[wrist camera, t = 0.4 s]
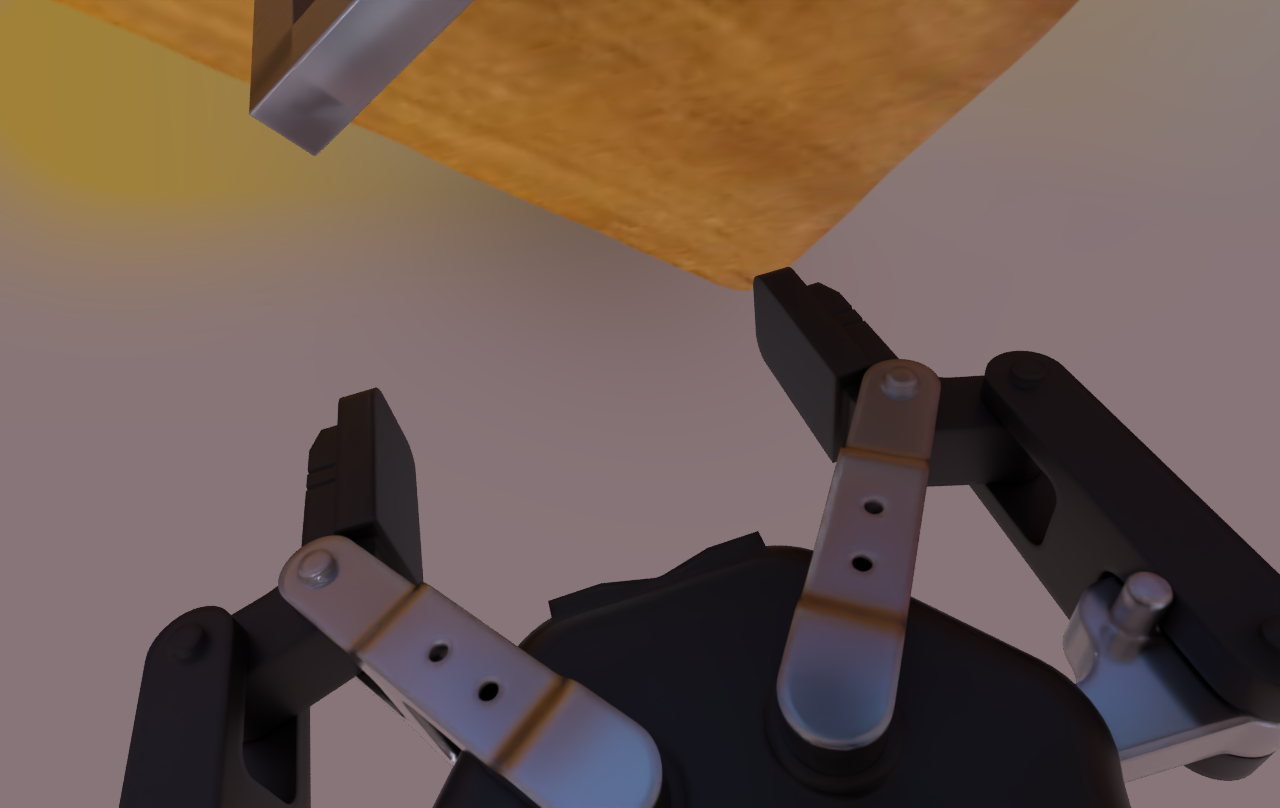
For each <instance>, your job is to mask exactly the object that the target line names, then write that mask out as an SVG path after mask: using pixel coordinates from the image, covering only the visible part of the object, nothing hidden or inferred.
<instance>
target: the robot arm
mask: <svg viewBox="0 0 1280 808" xmlns="http://www.w3.org/2000/svg"><path fill="white" fill-rule="evenodd" d="M753 290H754V307H755V323H756V337H757V342H758V346H759V349H760V352H761V355H762V357H763V359H764V361H765V362H766V364H767V365H768V367H769V369H770V370H771V372H772V373H773V374H774V376H775V377H776V379H777V380H778V382H779V383H780V385H781V386H782V388H783V389H784V391H785V392H786V394H787V395H788V397H789V398H790V400H791V401H792V403H793V404H794V406H795V407H796V409H797V410H798V412H799V413H800V415H801V416H802V418H803V419H804V421H805V422H806V424H807V425H808V427H809V428H810V430H811V431H812V433H813V434H814V436H815V437H816V439H817V440H818V442H819V443H820V444H821V446H822V448H823V449H824V451H825V452H826V454H827V455H828V457H829V458H830V459H831V461H832V462H833V463H834V462H837V463H836V467H835V470H834V475H833V478H832V482H831V486H830V490H829V494H828V497H827V502H826V505H825V509H824V513H823V517H822V520H821V524H820V528H819V532H818V536H817V540H816V543H815V547H814V551H813V550H809V549H805V548H800V547H793V546H765V544H764V542H763V540H762V538H761V536H760V534H759V532H758V531H757V532H755V533H751V534H748V535H745V536H742V537H739V538H736V539H733V540H730V541H727V542H724V543H721V544H718V545H715V546H712V547H709V548H707V549H705V550H704V551H702V552H700V553H699V554H697V555H695V556H694V557H692V558H690V559H689V560H687V561H686V562H684V563H682V564H681V565H679V566H677V567H676V568H674V569H672V570H671V571H669V572H667V573H666V574H664V575H662V576H660V577H657V578H651V579H641V580H630V581H621V582H610V583H601V584H598V585H595V586H592V587H589V588H586V589H583V590H580V591H577V592H574V593H571V594H568V595H565V596H562V597H559V598H556V599H553V600H550V601H548V602H549V607H550V612H551V616H552V618H550V619H549V620H547V621H545V622H544V623H542V624H541V625H540V626H539V627H537V628H536V629H535V630H533V631H532V632H531V633H530V634H529V635H528V636H527V637H526V638H525V639H524V640H523V641H522V642H521V643H520V644H519V646H516V645H515V644H513V643H512V642H510V641H509V640H508V639H506V638H505V637H503V636H502V635H500V634H499V633H498V632H496V631H494V630H493V629H492V628H490V627H489V626H488V625H486V624H485V623H483V622H482V621H480V620H479V619H478V618H476V617H475V616H473V615H472V614H470V613H469V612H468V611H466V610H464V609H463V608H462V607H460V606H459V605H457V604H456V603H455V602H453V601H452V600H450V599H449V598H448V597H446V596H445V595H443V594H442V593H440V592H439V591H438V590H436V589H435V588H433V587H432V586H430V585H428V584H426V583H424V582H423V569H422V556H421V541H420V527H419V513H418V499H417V486H416V472H415V463H414V459H413V455H412V452H411V449H410V446H409V444H408V441H407V440H406V437H405V435H404V434H403V432H402V430H401V428H400V426H399V424H398V423H397V420H396V418H395V416H394V415H393V413H392V411H391V409H390V407H389V405H388V403H387V401H386V400H385V398H384V396H383V394H382V393H381V391H380V390H379V389H378V388H373V389H369V390H366V391H363V392H359V393H356V394H353V395H349V396H346V397H342V398H340V399H339V403H338V424H337V425H336V426H333V427H330V428H326V429H323V430H321V431H320V433H319V435H318V437H317V438H316V440H315V442H314V444H313V445H312V448H311V449H310V451H309V461H308V473H309V474H308V475H307V485H306V487H307V491H306V498H305V510H304V522H303V534H302V547H301V548H300V549H299V550H298V551H296V552H295V553H294V554H293V555H292V556H291V557H290V558H289V560H288V561H287V562H286V563H285V565H284V567H283V568H282V571H281V573H280V576H279V580H278V586H277V587H276V588H274V589H273V590H272V591H270V592H269V593H267V594H266V595H264V596H263V597H261V598H259V599H258V600H256V601H254V602H253V603H251V604H249V605H248V606H246V607H244V608H243V609H241V610H239V611H237V612H236V613H234V614H233V615H230V614H229V613H228V612H227V611H226V610H225V609H223V608H220V607H217V606H205V607H200V608H196V609H193V610H191V611H189V612H186V613H185V614H183V615H181V616H179V617H178V618H177V619H175V620H174V621H172V622H171V623H170V624H169V625H168V626H166V627H165V628H164V629H163V630H162V631H161V632H160V633H159V635H158V636H157V637H156V639H155V640H154V642H153V643H152V645H151V646H150V648H149V651H148V653H147V656H146V660H145V665H144V671H143V677H142V682H141V688H140V693H139V698H138V704H137V710H136V715H135V721H134V727H133V732H132V738H131V743H130V749H129V755H128V760H127V765H126V771H125V776H124V782H123V788H122V793H121V799H120V804H119V808H311V805H310V803H311V800H310V799H311V797H310V706H311V705H313V704H314V703H316V702H317V701H319V700H320V699H322V698H323V697H325V696H326V695H328V694H329V693H331V692H332V691H334V690H336V689H337V688H338V687H340V686H342V685H343V684H344V683H346V682H348V681H349V680H351V679H352V678H355V679H356V680H357V681H359V682H360V683H361V684H362V685H363V686H364V687H366V688H367V689H368V690H369V691H370V692H371V693H372V694H373V695H375V696H376V697H377V698H378V699H379V700H380V701H382V702H383V703H384V704H385V705H386V706H387V707H388V708H389V709H391V710H392V711H393V712H394V713H395V714H396V715H398V716H399V717H400V718H401V719H402V720H403V721H404V722H406V723H407V724H408V725H409V726H410V727H411V728H412V729H413V730H415V731H416V732H417V733H418V734H419V735H420V736H421V737H422V738H423V739H424V740H425V741H426V742H427V743H428V744H429V745H430V746H431V747H432V748H433V749H434V750H435V751H436V752H437V753H438V754H439V755H440V756H441V757H442V758H443V759H444V760H445V761H446V762H447V763H449V764H450V765H451V766H452V767H453V768H452V770H451V772H450V774H449V776H448V778H447V780H446V782H445V784H444V786H443V788H442V790H441V792H440V794H439V796H438V798H437V800H436V802H435V804H434V806H433V808H1131V806H1130V802H1129V799H1128V795H1127V792H1126V788H1125V784H1124V783H1126V782H1130V781H1133V780H1136V779H1139V778H1143V777H1146V776H1149V775H1153V774H1156V773H1159V772H1163V771H1166V770H1169V769H1172V768H1176V767H1179V766H1182V765H1184V766H1185V767H1187V768H1189V769H1190V770H1192V771H1194V772H1196V773H1198V774H1200V775H1202V776H1206V777H1209V778H1212V779H1217V780H1224V781H1232V780H1239V779H1242V778H1245V777H1247V776H1249V775H1250V774H1252V773H1253V772H1254V771H1255V770H1256V769H1257V768H1258V767H1259V766H1260V765H1261V764H1262V763H1264V762H1265V761H1266V760H1267V759H1268V758H1269V757H1270V756H1271V755H1272V754H1273V753H1274V752H1275V751H1276V750H1277V749H1278V748H1280V574H1279V573H1278V572H1276V570H1275V569H1273V568H1272V567H1271V566H1270V565H1269V564H1268V563H1267V562H1266V561H1265V560H1264V559H1263V558H1262V557H1261V556H1260V555H1259V554H1258V553H1257V552H1256V551H1255V550H1254V549H1253V548H1252V547H1251V546H1249V545H1248V544H1247V543H1246V542H1245V541H1244V540H1243V539H1242V538H1241V537H1240V536H1239V535H1238V534H1237V533H1236V532H1235V531H1234V530H1233V529H1232V528H1231V527H1230V526H1229V525H1228V524H1227V523H1226V522H1224V520H1223V519H1221V518H1220V517H1219V516H1218V515H1217V514H1216V513H1215V512H1214V511H1213V510H1212V509H1211V508H1210V507H1209V506H1208V505H1207V504H1206V503H1205V502H1204V501H1203V500H1202V499H1201V498H1200V497H1199V496H1198V495H1197V494H1195V493H1194V492H1193V491H1192V490H1191V489H1190V488H1189V487H1188V486H1187V485H1186V484H1185V483H1184V482H1183V481H1182V480H1181V479H1180V478H1179V477H1178V476H1177V475H1176V474H1175V473H1174V472H1173V471H1172V470H1170V468H1169V467H1167V466H1166V465H1165V464H1164V463H1163V462H1162V461H1161V460H1160V459H1159V458H1158V457H1157V456H1156V455H1155V454H1154V453H1153V452H1152V451H1151V450H1150V449H1149V448H1148V447H1147V446H1146V445H1145V444H1144V443H1143V442H1141V441H1140V440H1139V439H1138V438H1137V437H1136V436H1135V435H1134V434H1133V433H1132V432H1131V431H1130V430H1129V429H1128V428H1127V427H1126V426H1125V425H1124V424H1123V423H1122V422H1121V421H1120V420H1119V419H1117V417H1116V416H1114V415H1113V414H1112V413H1111V412H1110V411H1109V410H1108V409H1107V408H1106V407H1105V406H1104V405H1103V404H1102V403H1101V402H1100V401H1099V400H1098V399H1097V398H1096V397H1095V396H1094V395H1093V394H1091V392H1090V391H1088V390H1087V389H1086V388H1085V387H1084V386H1083V385H1082V384H1081V383H1080V382H1079V381H1078V380H1077V379H1076V378H1075V377H1074V376H1073V375H1072V374H1071V373H1070V372H1069V371H1068V370H1067V369H1065V367H1064V366H1062V365H1061V364H1060V363H1059V362H1057V361H1056V360H1054V359H1052V358H1050V357H1048V356H1046V355H1043V354H1040V353H1035V352H1029V351H1012V352H1006V353H1003V354H1000V355H998V356H996V357H994V358H993V359H992V360H991V361H990V362H989V363H988V365H987V367H986V370H985V375H984V376H971V377H970V376H969V377H953V378H943V377H938V376H937V374H936V373H935V372H934V371H932V369H930V368H929V367H927V366H925V365H923V364H921V363H919V362H915V361H911V360H905V359H899V358H898V357H897V356H896V355H895V354H894V353H893V352H892V351H891V350H890V349H889V347H888V346H887V345H886V344H885V343H884V342H883V341H882V339H881V338H880V337H879V336H878V335H877V334H876V333H875V332H874V331H873V330H872V328H871V327H870V326H869V325H868V324H867V323H866V322H865V321H863V320H862V317H861V316H860V315H859V314H858V313H857V312H856V311H855V310H853V309H852V306H851V305H850V304H849V303H848V302H847V301H846V299H845V298H844V297H843V296H842V295H841V294H840V293H839V292H837V291H835V290H833V289H831V288H829V287H827V286H825V285H823V284H821V283H819V282H818V283H814V284H811V285H808V286H807V285H806V284H805V283H804V282H803V281H802V280H801V279H800V277H799V276H798V275H797V274H796V273H795V271H794V270H793V269H792V268H790V267H786V268H782V269H779V270H775V271H772V272H769V273H765V274H762V275H758V276H756V277H755V278H754V282H753ZM952 485H970V487H971V488H972V489H973V491H974V492H975V493H976V495H977V496H978V497H979V499H980V500H981V501H982V503H983V504H984V506H985V507H986V508H987V510H988V511H989V512H990V514H991V515H992V516H993V518H994V519H995V520H996V522H997V523H998V524H999V526H1000V527H1001V528H1002V530H1003V531H1004V532H1005V534H1006V535H1007V537H1008V538H1009V539H1010V540H1011V542H1012V543H1013V544H1014V546H1015V547H1016V549H1017V550H1018V551H1019V552H1020V554H1021V555H1022V557H1023V558H1024V559H1025V561H1026V562H1027V563H1028V565H1029V566H1030V567H1031V569H1032V570H1033V572H1034V573H1035V574H1036V576H1037V577H1038V578H1039V580H1040V581H1041V582H1042V584H1043V585H1044V586H1045V588H1046V589H1047V590H1048V592H1049V593H1050V594H1051V596H1052V597H1053V599H1054V600H1055V601H1056V603H1057V604H1058V605H1059V607H1060V608H1061V609H1062V611H1063V612H1064V613H1065V615H1066V616H1067V617H1068V619H1069V620H1070V621H1069V623H1068V625H1067V628H1066V630H1065V632H1064V635H1063V650H1064V652H1065V655H1066V658H1067V660H1068V662H1069V664H1070V666H1071V667H1072V669H1073V671H1074V675H1075V677H1076V684H1074V683H1073V682H1072V681H1071V680H1070V679H1069V678H1068V677H1066V676H1065V675H1064V674H1062V673H1061V672H1059V671H1058V670H1057V669H1055V668H1053V667H1052V666H1050V665H1048V664H1047V663H1045V662H1043V661H1042V660H1040V659H1038V658H1036V657H1034V656H1032V655H1030V654H1028V653H1025V652H1024V651H1022V650H1019V649H1017V648H1015V647H1013V646H1011V645H1009V644H1007V643H1005V642H1003V641H1001V640H999V639H997V638H995V637H993V636H991V635H989V634H987V633H985V632H983V631H981V630H978V629H976V628H974V627H972V626H970V625H968V624H966V623H964V622H962V621H960V620H958V619H956V618H954V617H952V616H950V615H948V614H946V613H944V612H941V611H939V610H938V609H936V608H933V607H931V606H929V605H927V604H925V603H923V602H921V601H919V600H917V599H915V598H913V597H911V589H912V582H913V576H914V569H915V562H916V555H917V548H918V542H919V535H920V528H921V522H922V515H923V508H924V502H925V495H926V488H927V487H928V486H952Z"/></svg>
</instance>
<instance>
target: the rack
mask: <svg viewBox="0 0 1280 808" xmlns="http://www.w3.org/2000/svg"><path fill="white" fill-rule="evenodd" d="M472 1H473V0H255V2H254V23H253V44H252V65H251V86H250V107H249V114H250V115H251V116H252V117H254V118H255V119H257V120H259V121H260V122H262V123H264V124H265V125H266V126H268V127H270V128H271V129H273V130H274V131H276V132H278V133H279V134H281V135H282V136H284V137H285V138H287V139H288V140H290V141H291V142H293V143H295V144H296V145H298V146H299V147H301V148H302V149H304V150H306V151H307V152H309V153H310V154H312V155H314V156H316V155H317V154H318V153H319V152H320V151H321V150H322V149H323V148H324V147H325V146H326V145H328V144H329V142H331V141H332V140H333V139H334V138H335V137H336V136H337V135H338V134H339V133H340V132H341V131H342V130H343V129H344V128H345V127H346V126H347V125H348V124H349V123H350V122H351V121H352V120H353V119H354V118H355V117H356V116H357V115H358V114H359V113H360V112H361V111H362V110H363V109H364V108H365V107H366V106H367V105H368V104H369V103H370V102H371V101H372V100H373V99H374V98H375V97H376V96H377V95H378V94H379V93H380V92H381V91H382V90H383V89H384V88H385V87H386V86H387V85H388V84H389V83H390V82H391V81H392V80H393V79H394V78H395V77H396V76H397V75H398V74H399V73H400V72H401V71H402V70H403V69H404V68H405V67H406V66H407V65H408V64H409V63H410V62H411V61H412V60H413V59H414V58H415V57H416V56H417V55H418V54H420V53H421V52H422V51H423V50H424V49H425V48H426V47H427V46H428V45H429V44H430V43H431V42H432V41H433V40H434V39H435V38H436V37H437V36H438V35H439V34H440V33H441V32H442V31H443V30H444V29H445V28H446V27H447V26H448V25H449V24H450V23H451V22H452V21H453V20H454V19H455V18H456V17H457V16H458V15H459V14H460V13H461V12H462V11H463V10H464V9H465V8H466V7H467V6H468V5H469V4H470V3H471V2H472Z"/></svg>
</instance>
